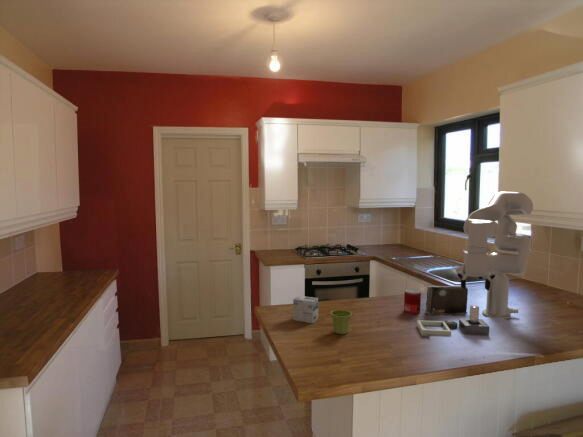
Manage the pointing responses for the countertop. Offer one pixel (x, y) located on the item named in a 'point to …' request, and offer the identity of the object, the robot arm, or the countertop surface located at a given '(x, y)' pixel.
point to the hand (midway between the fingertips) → (475, 288)
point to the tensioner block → (473, 327)
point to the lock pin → (474, 315)
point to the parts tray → (427, 332)
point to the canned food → (412, 301)
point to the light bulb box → (305, 309)
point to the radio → (446, 300)
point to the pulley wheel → (450, 324)
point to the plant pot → (341, 320)
